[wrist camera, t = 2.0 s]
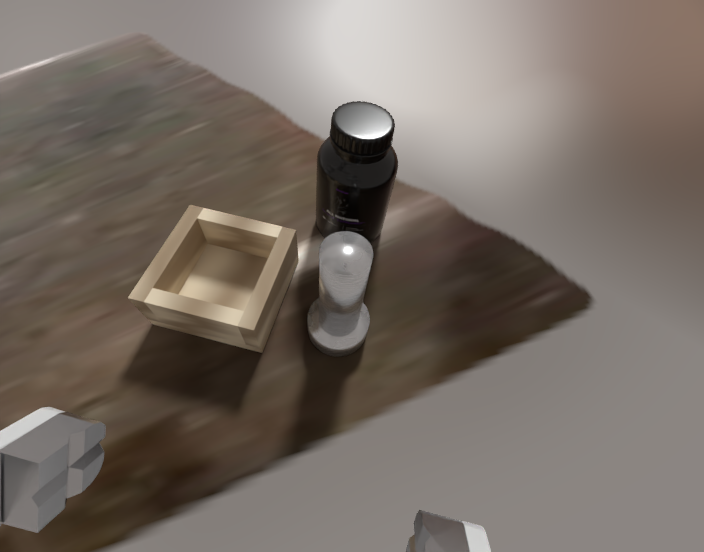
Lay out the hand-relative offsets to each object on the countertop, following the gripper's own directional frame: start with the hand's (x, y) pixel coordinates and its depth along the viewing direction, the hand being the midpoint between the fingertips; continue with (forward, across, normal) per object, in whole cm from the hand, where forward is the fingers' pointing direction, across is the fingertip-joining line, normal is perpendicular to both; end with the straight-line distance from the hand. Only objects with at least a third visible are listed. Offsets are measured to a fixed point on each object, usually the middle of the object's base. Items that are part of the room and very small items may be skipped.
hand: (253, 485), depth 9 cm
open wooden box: (+22, +10, +3) cm, 24 cm away
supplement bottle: (+30, +2, -4) cm, 30 cm away
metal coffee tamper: (+21, 0, +4) cm, 22 cm away
